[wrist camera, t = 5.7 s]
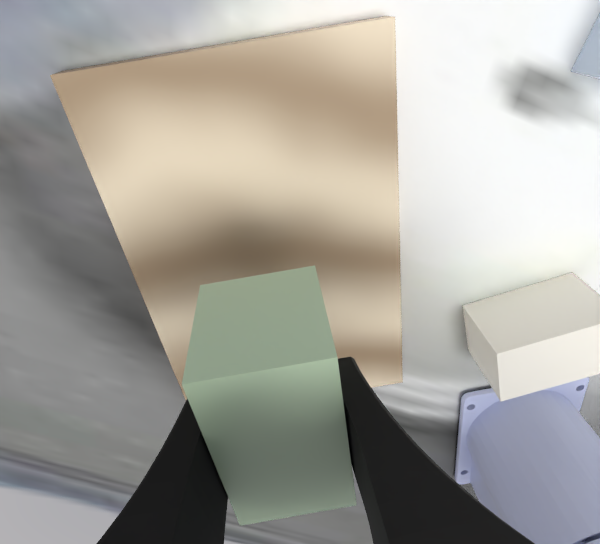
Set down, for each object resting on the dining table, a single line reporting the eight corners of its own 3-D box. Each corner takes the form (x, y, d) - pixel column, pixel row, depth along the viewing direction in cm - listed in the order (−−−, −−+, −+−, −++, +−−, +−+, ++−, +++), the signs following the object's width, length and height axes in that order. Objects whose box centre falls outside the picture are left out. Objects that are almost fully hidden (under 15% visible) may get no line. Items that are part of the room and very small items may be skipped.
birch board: (396, 367, 25) (402, 382, 24) (195, 402, 25) (193, 418, 24) (385, 16, 16) (395, 16, 15) (63, 70, 16) (50, 75, 15)
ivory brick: (570, 271, 23) (625, 316, 20) (568, 319, 25) (618, 368, 22) (461, 304, 24) (496, 354, 20) (467, 348, 25) (500, 401, 22)
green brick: (334, 400, 16) (356, 505, 13) (242, 416, 16) (240, 525, 13) (314, 265, 13) (337, 357, 10) (199, 285, 13) (182, 384, 10)
